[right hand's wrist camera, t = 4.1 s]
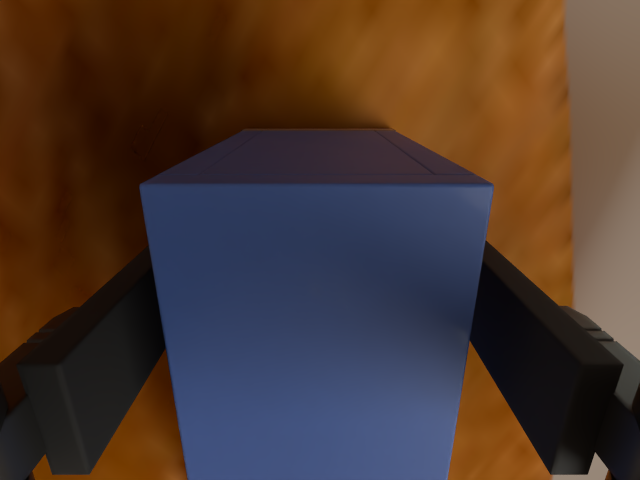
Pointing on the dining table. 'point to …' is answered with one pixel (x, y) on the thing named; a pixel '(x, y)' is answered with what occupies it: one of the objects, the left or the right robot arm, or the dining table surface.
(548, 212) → the dining table surface
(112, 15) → the dining table surface
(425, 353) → the cabinet
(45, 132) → the dining table surface
